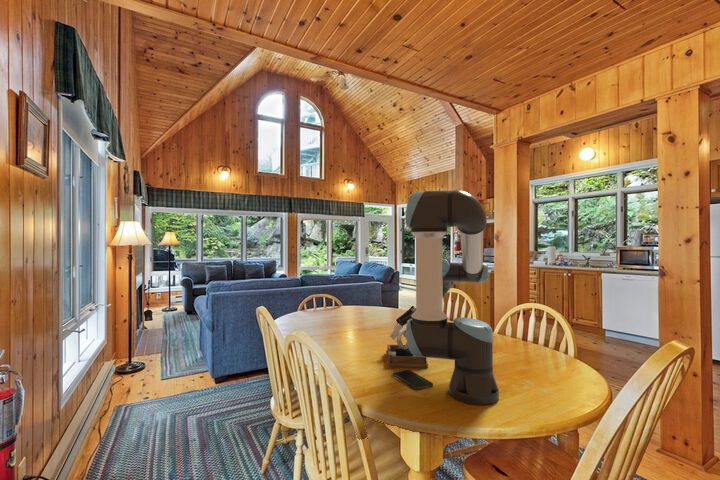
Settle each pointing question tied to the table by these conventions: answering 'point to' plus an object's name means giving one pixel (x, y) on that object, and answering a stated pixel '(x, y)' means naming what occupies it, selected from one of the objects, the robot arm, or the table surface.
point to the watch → (402, 349)
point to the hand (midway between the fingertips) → (401, 341)
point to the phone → (412, 380)
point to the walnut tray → (404, 359)
